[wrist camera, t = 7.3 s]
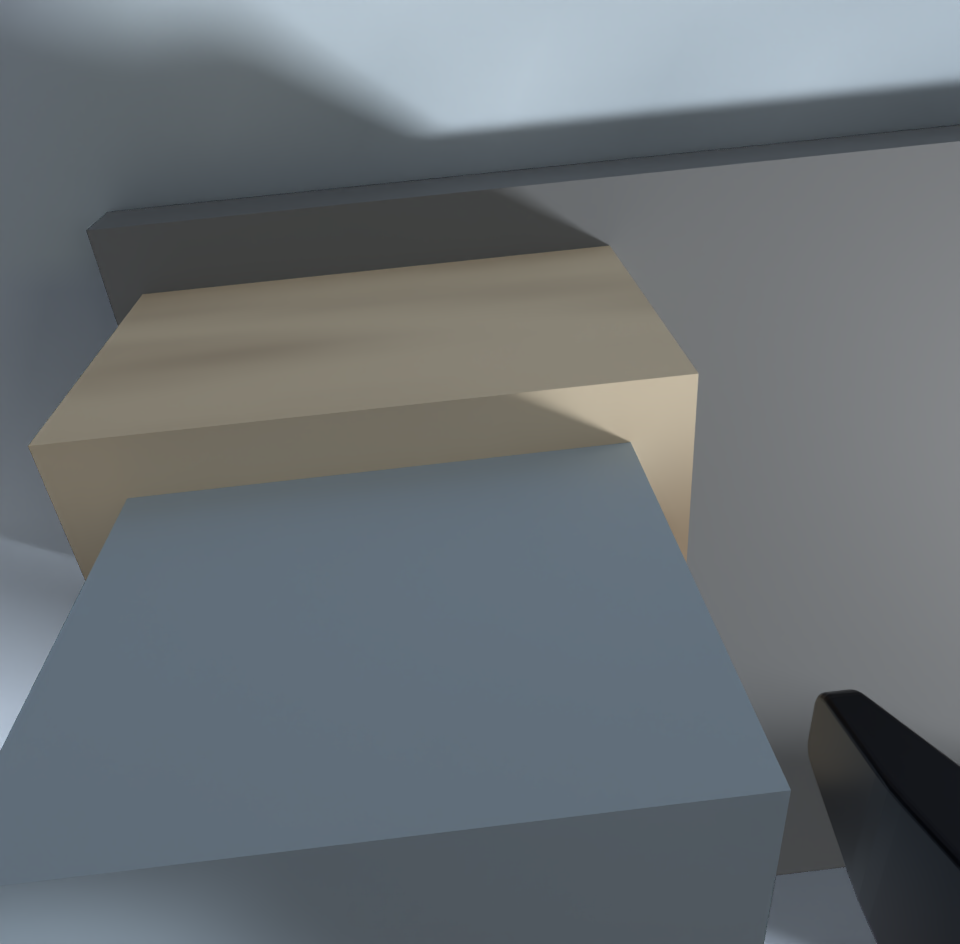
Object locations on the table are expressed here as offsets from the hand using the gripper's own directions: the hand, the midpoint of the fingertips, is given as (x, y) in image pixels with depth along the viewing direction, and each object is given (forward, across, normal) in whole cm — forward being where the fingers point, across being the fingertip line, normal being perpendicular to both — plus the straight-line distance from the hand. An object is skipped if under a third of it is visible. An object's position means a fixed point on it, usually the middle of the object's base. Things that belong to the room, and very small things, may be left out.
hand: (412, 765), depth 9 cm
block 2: (+2, 0, 0) cm, 2 cm away
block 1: (+6, 0, 0) cm, 6 cm away
